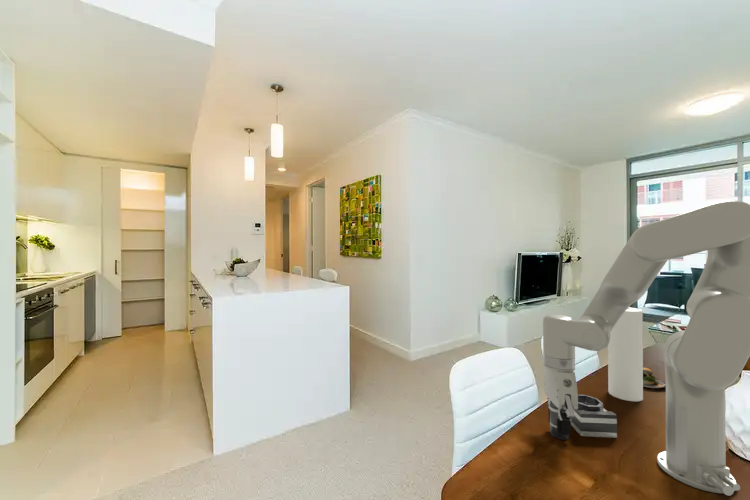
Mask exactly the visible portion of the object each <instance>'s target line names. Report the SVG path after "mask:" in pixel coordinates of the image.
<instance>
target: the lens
mask: <svg viewBox="0 0 750 500" xmlns="http://www.w3.org/2000/svg"><path fill="white" fill-rule="evenodd" d="M562 407H565V405H562ZM548 409H550V423H549V434H550V435H551V436H552V437H553V438H554V439H557V440H562V441H563V440H569V438H570V435H559V434H558V433H557V418H558V408H557V407H556V406H555V405H554V404H553V403H552V402H551V403H550V405H549V407H548ZM563 413H566V410H562V414H563Z"/></svg>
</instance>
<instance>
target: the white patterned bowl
mask: <svg viewBox="0 0 750 500" xmlns="http://www.w3.org/2000/svg"><path fill="white" fill-rule="evenodd" d="M645 366H646V365H643V388H644V387H645V388H648V389H649V388H650V389H661V388H664V389H665V390H666V381H663V380H661V379H659V378H656V376H654V375H653V373H654V372H653V371H652V370H651V368H648V367H645Z"/></svg>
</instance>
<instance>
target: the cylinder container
mask: <svg viewBox="0 0 750 500" xmlns="http://www.w3.org/2000/svg"><path fill="white" fill-rule="evenodd" d="M643 326H644V324H643V309H641V308H636V307H631V306H629V307H628V308H627V310H626V311H625V312H624V313H623V315H622V316H621V317H620V319H619V320H618V322H617V323H616V325H615V326H614V328H613V329H612V331H611V332H610V343H609V345H608V346H607V354H608V355H607V373H608V374H607V378H608V380H607V381H608V382H607V384H608V385H607V386H608V388H607V389H608V394H609V395H611V396H612V397H614V398H617V399H619V400H623V401H628V402H641V401H644V386H643V368H644V361H643V360H644V353H643V352H644V348H643V346H644V345H643V343H644V341H643V339H644V337H643V335H644V334H643V331H644V330H643Z"/></svg>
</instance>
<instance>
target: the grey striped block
mask: <svg viewBox="0 0 750 500" xmlns="http://www.w3.org/2000/svg"><path fill="white" fill-rule="evenodd" d="M573 411H574V414H575V416H574V417H572V418H571V419H572V420H571V428H573V429H574V430H575V431H576V433H577V434H579V436H581V437H590V438H591V437H595V438H610V439H611V438H614V439H615V438H616V439H617V438H618V421H617V420H618V415H617V414H616V413H614V411H609V410H606V408H604V403H603V401H601V400H600V399H598V398H597V397H593V396H590V395H587V394H578V409H577V410H574V409H573Z"/></svg>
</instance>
